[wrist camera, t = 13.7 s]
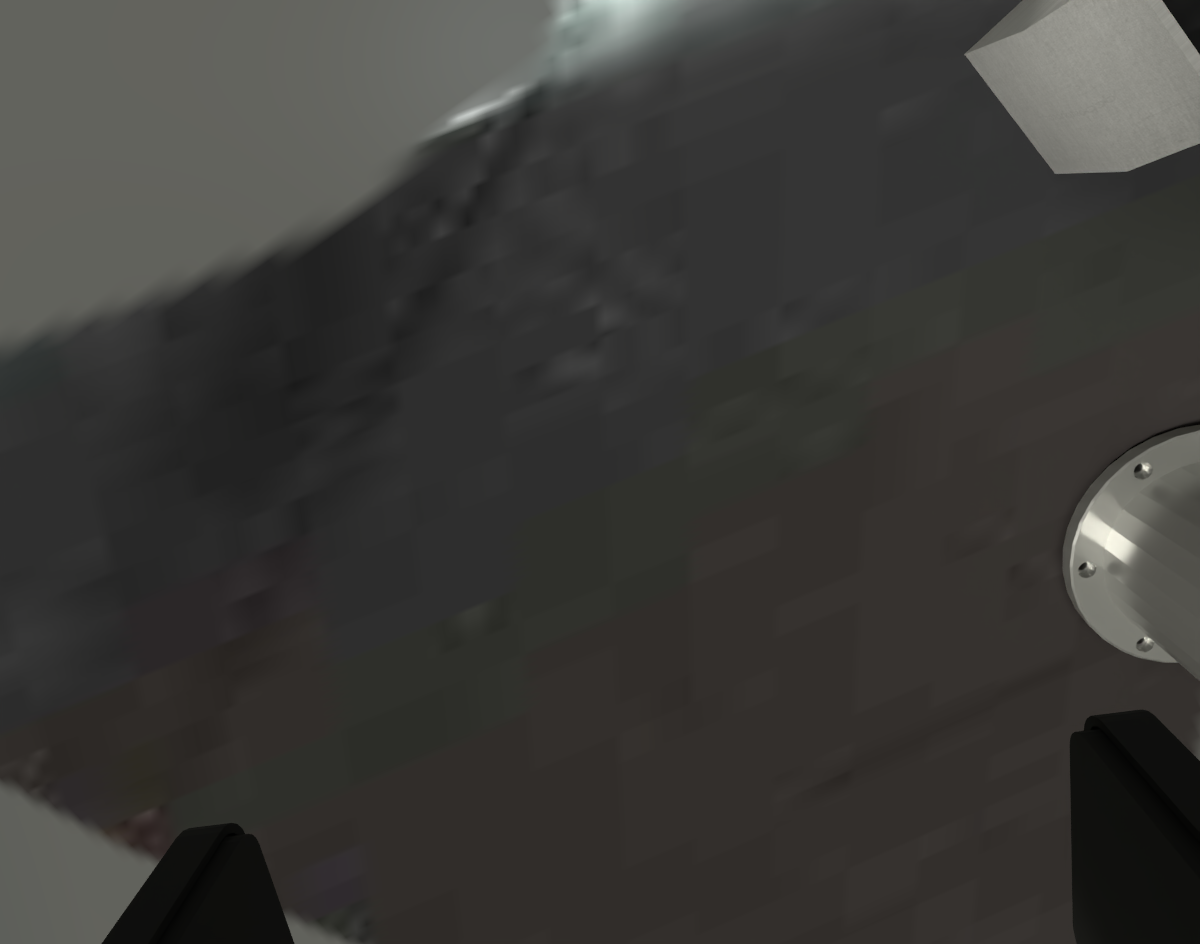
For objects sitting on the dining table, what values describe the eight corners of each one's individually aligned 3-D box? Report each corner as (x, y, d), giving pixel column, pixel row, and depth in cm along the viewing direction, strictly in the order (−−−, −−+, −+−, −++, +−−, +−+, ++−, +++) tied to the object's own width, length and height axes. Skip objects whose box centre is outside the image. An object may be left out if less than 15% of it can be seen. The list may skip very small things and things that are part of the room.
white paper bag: (1055, 173, 39) (1192, 169, 30) (964, 54, 38) (1078, 9, 28) (1126, 112, 38) (1291, 87, 29) (1036, -12, 37) (1177, -82, 27)
